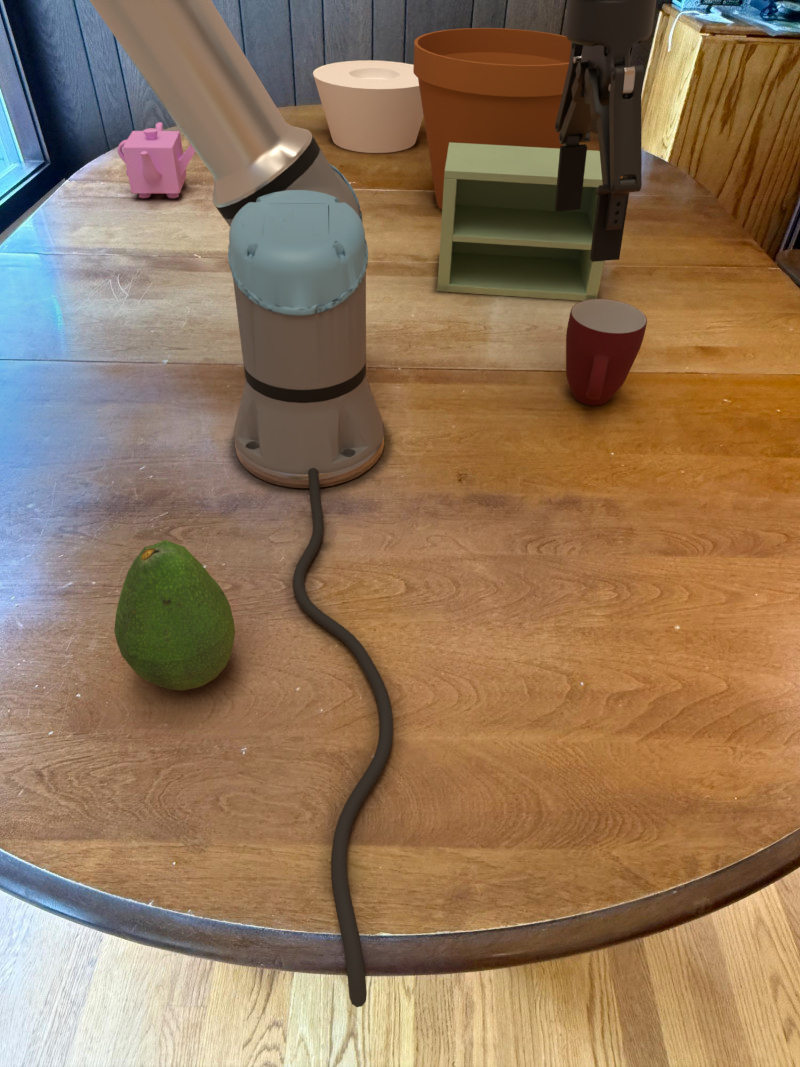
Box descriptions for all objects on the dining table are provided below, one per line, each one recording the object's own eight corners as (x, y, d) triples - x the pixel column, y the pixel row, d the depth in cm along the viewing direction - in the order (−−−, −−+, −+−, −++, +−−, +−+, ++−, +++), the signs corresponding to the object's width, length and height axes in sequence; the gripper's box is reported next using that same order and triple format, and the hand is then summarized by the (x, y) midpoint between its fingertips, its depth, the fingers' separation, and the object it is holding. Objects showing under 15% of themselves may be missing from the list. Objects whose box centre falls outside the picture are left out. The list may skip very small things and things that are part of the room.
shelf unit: (596, 301, 107) (621, 180, 96) (437, 291, 108) (444, 170, 97) (588, 266, 116) (611, 151, 105) (441, 256, 117) (449, 142, 106)
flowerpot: (381, 188, 138) (382, 33, 122) (512, 169, 148) (529, 24, 132) (461, 245, 120) (475, 72, 104) (604, 219, 130) (637, 57, 114)
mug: (632, 432, 83) (655, 348, 77) (557, 425, 84) (573, 342, 77) (622, 381, 91) (642, 301, 85) (554, 375, 92) (568, 295, 85)
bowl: (383, 117, 172) (383, 55, 164) (456, 144, 159) (460, 78, 151) (292, 135, 161) (288, 69, 152) (363, 166, 147) (363, 95, 139)
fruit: (157, 734, 54) (120, 621, 46) (115, 660, 59) (75, 546, 51) (259, 681, 58) (241, 567, 50) (212, 616, 62) (189, 502, 54)
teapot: (197, 210, 128) (188, 146, 121) (116, 210, 127) (102, 145, 120) (209, 174, 141) (201, 115, 134) (135, 174, 140) (123, 114, 133)
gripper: (715, 6, 57) (662, 280, 72) (611, -36, 76) (586, 189, 90) (616, 14, 57) (583, 287, 71) (536, -31, 75) (522, 194, 90)
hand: (584, 233), depth 81 cm, fingers open, 13 cm apart
